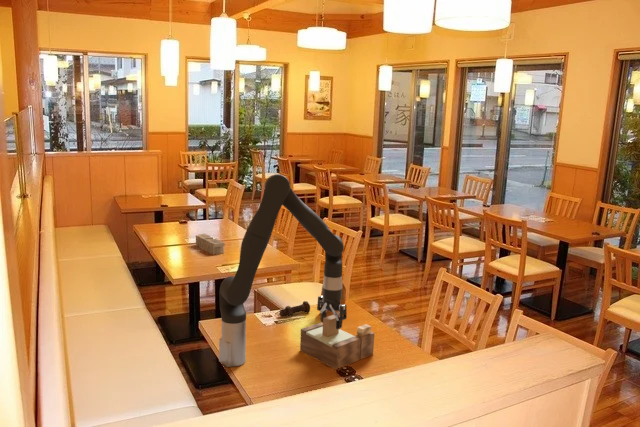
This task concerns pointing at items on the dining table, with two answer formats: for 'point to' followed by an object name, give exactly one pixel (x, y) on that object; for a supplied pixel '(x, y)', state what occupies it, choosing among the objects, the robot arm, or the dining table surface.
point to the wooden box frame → (337, 348)
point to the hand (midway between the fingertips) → (331, 325)
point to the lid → (329, 332)
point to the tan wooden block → (363, 330)
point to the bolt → (295, 309)
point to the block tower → (209, 244)
